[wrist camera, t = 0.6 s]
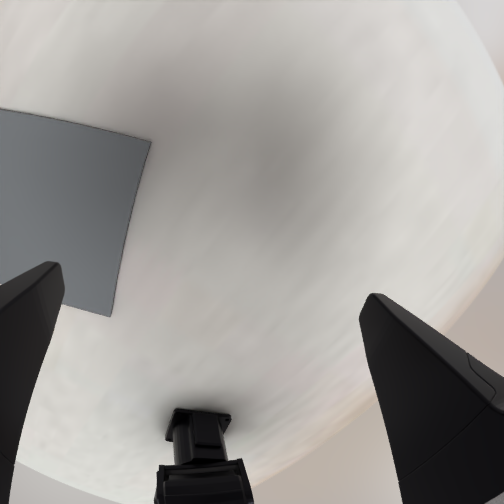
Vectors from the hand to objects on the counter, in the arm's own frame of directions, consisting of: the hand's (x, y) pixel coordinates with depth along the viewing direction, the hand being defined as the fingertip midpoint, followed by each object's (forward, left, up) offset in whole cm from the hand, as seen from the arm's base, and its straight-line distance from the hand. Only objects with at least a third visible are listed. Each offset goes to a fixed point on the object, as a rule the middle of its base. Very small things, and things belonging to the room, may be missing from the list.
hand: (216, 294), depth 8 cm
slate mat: (-5, +11, -14) cm, 19 cm away
